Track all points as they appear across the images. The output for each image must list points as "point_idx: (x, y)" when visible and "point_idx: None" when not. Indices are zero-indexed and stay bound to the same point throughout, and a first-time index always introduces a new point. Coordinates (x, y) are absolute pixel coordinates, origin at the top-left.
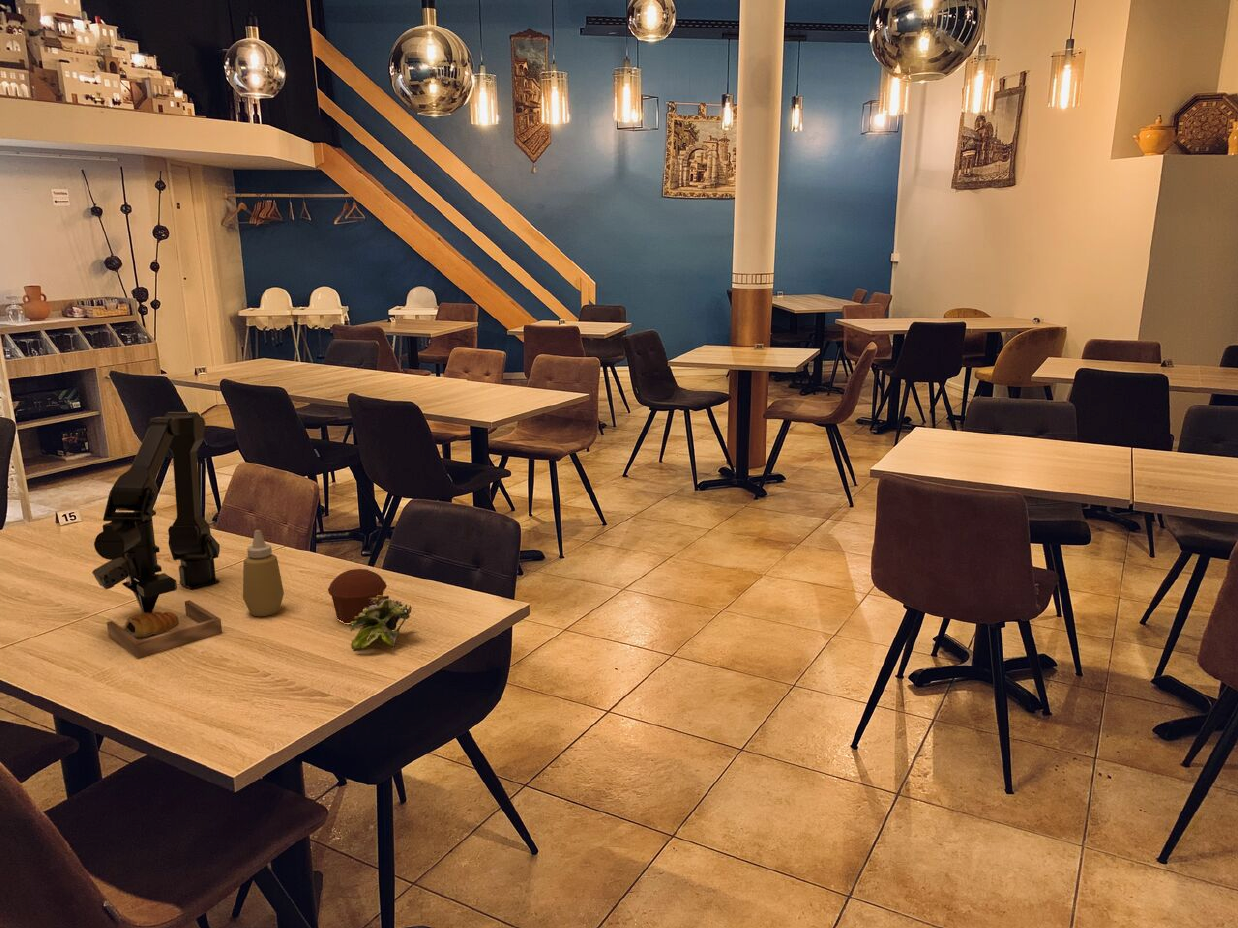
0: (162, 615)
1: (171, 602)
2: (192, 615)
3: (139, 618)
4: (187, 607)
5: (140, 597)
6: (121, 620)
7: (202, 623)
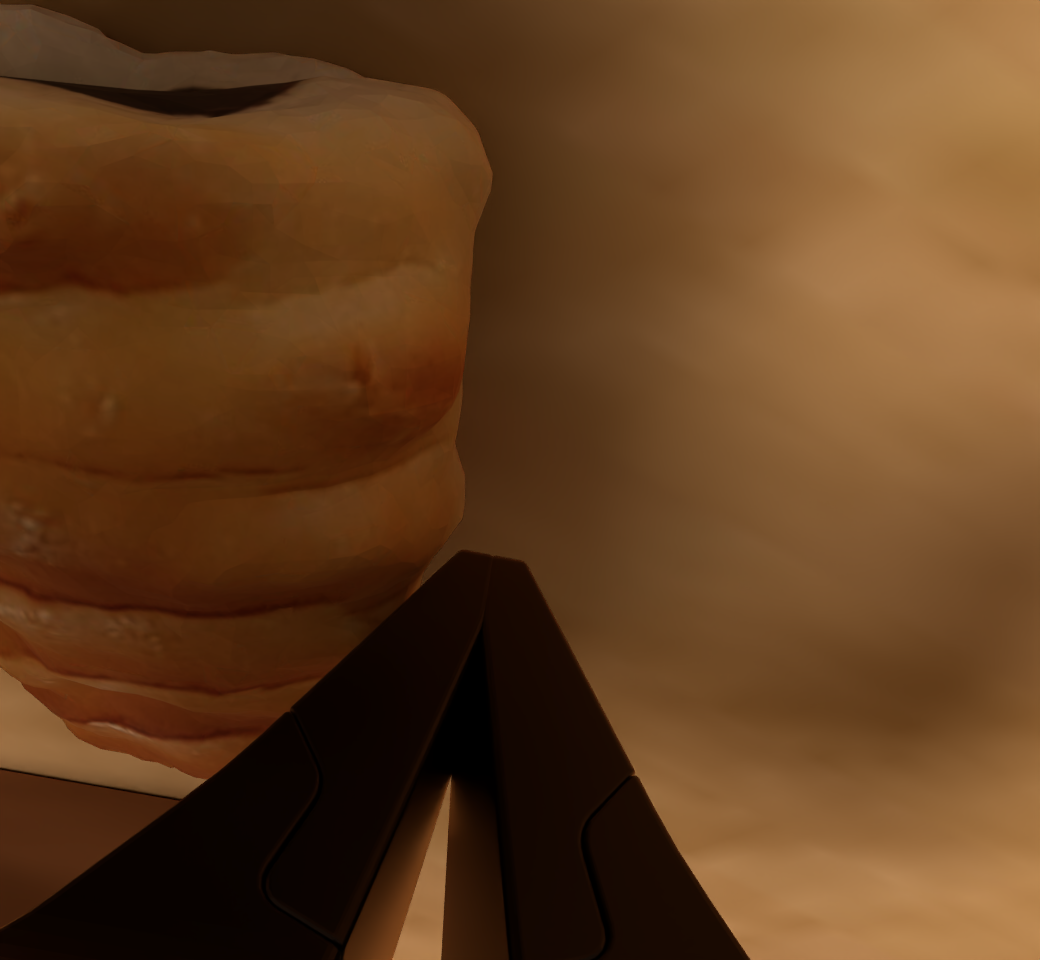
0: (33, 653)
1: (863, 943)
2: None
3: (24, 324)
4: None
5: (128, 875)
6: (1024, 369)
7: None
